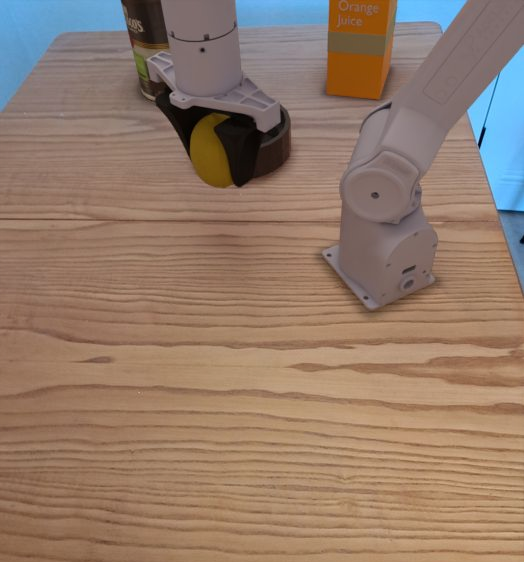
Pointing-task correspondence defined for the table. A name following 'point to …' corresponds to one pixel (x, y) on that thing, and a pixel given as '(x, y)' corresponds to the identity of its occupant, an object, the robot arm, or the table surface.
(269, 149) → the bowl
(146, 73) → the coffee can
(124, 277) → the table surface
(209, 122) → the lemon
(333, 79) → the orange juice
